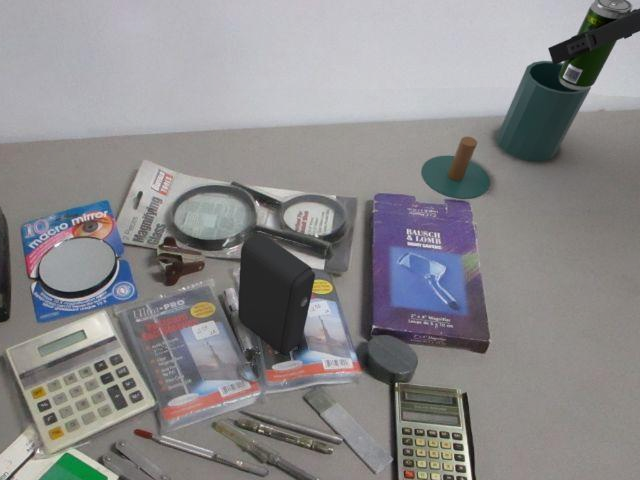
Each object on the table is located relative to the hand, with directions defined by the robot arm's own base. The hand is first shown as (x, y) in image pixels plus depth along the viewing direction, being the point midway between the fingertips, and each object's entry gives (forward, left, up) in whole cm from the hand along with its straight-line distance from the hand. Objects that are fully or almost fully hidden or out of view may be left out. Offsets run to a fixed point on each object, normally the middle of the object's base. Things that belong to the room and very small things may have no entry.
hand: (564, 50), depth 91 cm
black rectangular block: (+43, +43, -20) cm, 64 cm away
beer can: (-2, +3, -4) cm, 5 cm away
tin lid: (+12, +8, -19) cm, 24 cm away
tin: (-3, -3, -20) cm, 20 cm away
